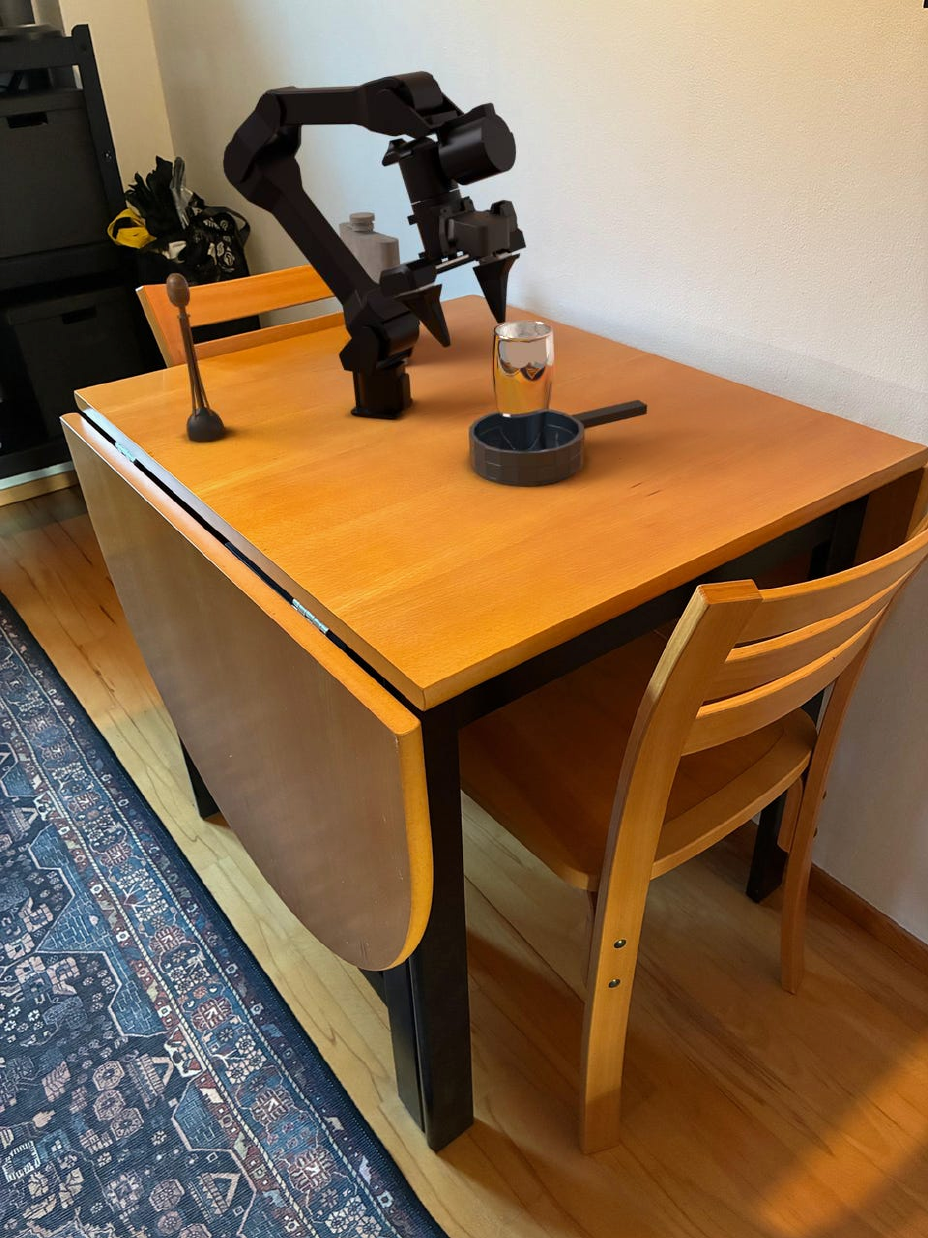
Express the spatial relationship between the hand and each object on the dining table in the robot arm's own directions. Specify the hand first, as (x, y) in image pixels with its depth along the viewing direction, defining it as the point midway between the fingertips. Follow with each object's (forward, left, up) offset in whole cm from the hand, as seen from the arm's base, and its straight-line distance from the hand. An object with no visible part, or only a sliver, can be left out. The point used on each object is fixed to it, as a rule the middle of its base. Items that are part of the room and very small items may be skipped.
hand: (475, 334), depth 114 cm
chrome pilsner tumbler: (+8, -7, -12) cm, 16 cm away
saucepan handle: (+16, +1, -9) cm, 19 cm away
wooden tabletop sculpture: (-34, -9, -12) cm, 37 cm away
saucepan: (+8, -7, -12) cm, 16 cm away
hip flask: (-25, +25, -12) cm, 37 cm away
